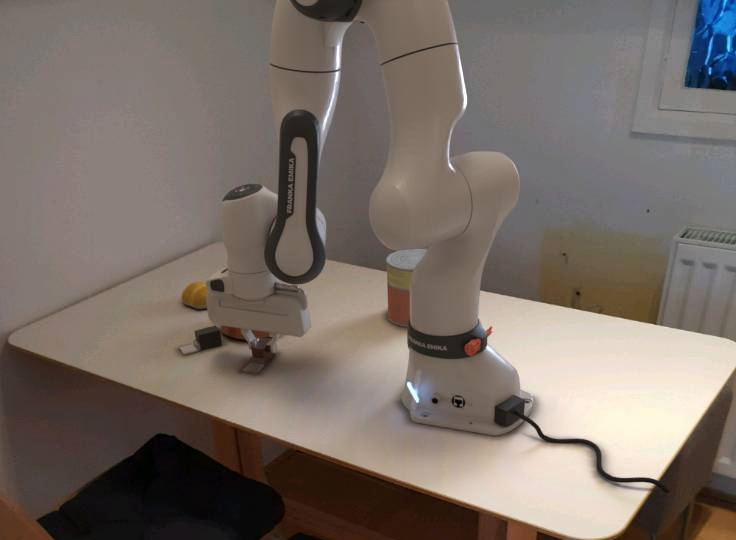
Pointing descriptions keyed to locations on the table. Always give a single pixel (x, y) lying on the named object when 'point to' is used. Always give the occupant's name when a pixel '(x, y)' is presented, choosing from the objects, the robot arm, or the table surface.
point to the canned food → (401, 283)
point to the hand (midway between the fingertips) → (263, 350)
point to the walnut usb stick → (259, 356)
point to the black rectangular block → (203, 340)
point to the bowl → (237, 333)
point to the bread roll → (195, 295)
